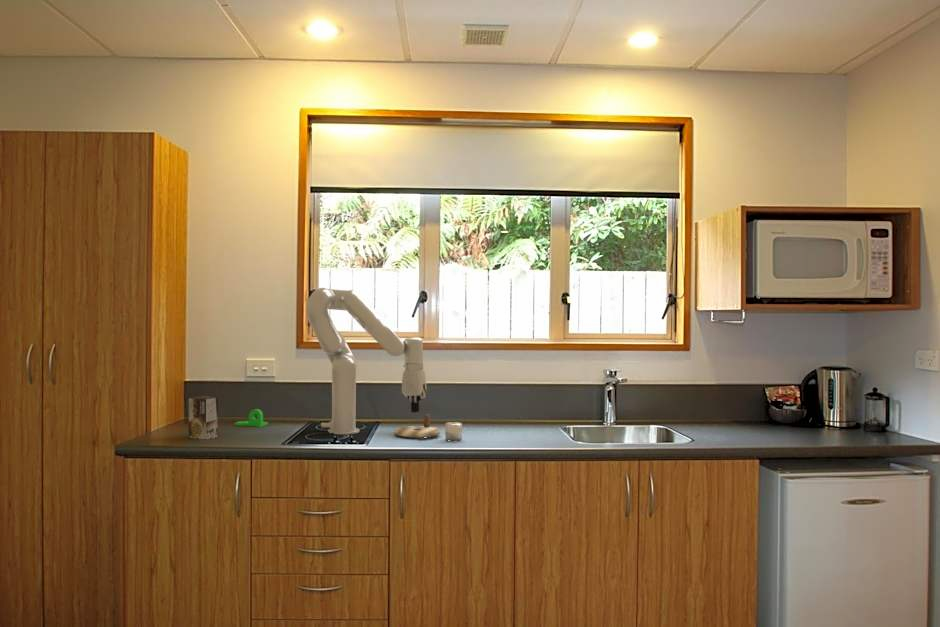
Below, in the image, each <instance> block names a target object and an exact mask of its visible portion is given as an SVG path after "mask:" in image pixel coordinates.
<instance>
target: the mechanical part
mask: <svg viewBox="0 0 940 627" xmlns="http://www.w3.org/2000/svg"><path fill="white" fill-rule="evenodd" d="M255 415H257V418H255ZM266 425H267V426H268V425H269V422H268V421H264V414H263V411H262V410H261V409H259V408H255V409H252V410H251V411H250V412H249V413H248V420H244V421H243V420H242V421H241V420H240V421H237V422H235V423H234V426H244V427H263V426H266Z"/></svg>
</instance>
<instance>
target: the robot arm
mask: <svg viewBox="0 0 940 627" xmlns="http://www.w3.org/2000/svg"><path fill="white" fill-rule="evenodd" d="M306 301H307V302H306V306H305V313H306V318H307V320H308V323H309V325H310V327H311V329H312V331H313V333H314V335H315V337H316V339H317V342H318V343H319V345H320V348H321V350H322V351H323V352H324V353H325V354H326V356H327V357H328V359H329V362H330V364H331V396H332V397H331V400H332V401H331V421H328V422H321V423H320V427H321V428H324V429H326V428H327V433H328V432H329V433H328V434H331V433H334V434H333V435H353V434H358V433H360V429H359V428H358V427H356V425H357V424H356V420H357V419H356V415H357V412H356V410H357V409H356V406H357V399H356V398H357V392H356V391H357V366H358V364H357V360H356V358H355V356H354V354H353V352H352V351H351V349H350V348H351V347H349V345H348V343H347V341H346V340H345V337H344V335H343V334H342V333H341V332H339V331H338V330H337V328H336V326H335V324H334V323H333V320H332V318H331V316H330V315H329V311H328V310H335V311H337V310H338V311H347V312H348V314H349V315H350V316H351V317H352V318H353V319H354V320H355V321H356V322H357V323H358V324H359V325H360V327H362V329H364V331H365V333H368V334H369V335H370V336H371V337H372V338H373V339H374V340H375V341H376V343H378V344H379V346H381V347H382V349H384V351H386V353H387V354H388V355H389V356H392V357H394V358H395V357H399V356H401V355H404V364H403V368H404V370H403V372H402V379H401V394H403V396H404V397H405V398H406V399H408V401H409V403H410V409H411V413H419V412H420V402H421V400H423V399H425V398H427V397H426V394H427V379H426V378H427V377H426V374H425V373H426V372H425V370H424V346H423V345H424V342H423V338H422V337H417V336H416V337H407V338H406V337H399V336H398V335H397V334H396V333H395V332H394V331H393V330H392V328H391V327H390V326H389V325H387V323H386V322H385V321H384V319H383V318H382V316H381V315H380V314H379V313H378V312H377V310H375V308H373V306H372V305H370V303H369V302H368V301H367V300H366V299H365V298H364V297H363V296H362V295H361V293H360V292H358V291H357V290H355V289H354V290H353V289H350V290H345V289H333V288H331V289H330V288H325V287H319V288H317V289H315V290H314V291H313V292H311V294H310V296H309V298H308V300H306Z"/></svg>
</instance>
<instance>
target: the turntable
mask: <svg viewBox="0 0 940 627" xmlns="http://www.w3.org/2000/svg"><path fill="white" fill-rule="evenodd" d="M394 434H395V435H396V436H400V437H404V436H405V437H404V438H409V437H429V436H432V437H435V436H439V435H440V434H441V429H440V428H439V427H435V426H431V415H430V414H428V413H426V414H424V415H423V425H411V426H410V425H409V426H408V425H407V426H401V427H395V429H394Z"/></svg>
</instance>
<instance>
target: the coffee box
mask: <svg viewBox="0 0 940 627" xmlns="http://www.w3.org/2000/svg"><path fill="white" fill-rule="evenodd" d="M218 401H219V396H218V397H217V396H206V395H205V396H204V395H203V396H202V395H201V396H200V395H199V396H194V397H188V438H189V437H190V438H189V439H196V438H199V439H198V440H204V439H207V440H211V439H210V438H212V439H216V438H215V437H217V438H218V437H219V436H218V435H219V434H218V430H219V429H218V428H219V427H218V426H219V425H218V423H219V414H218V413H219V402H218Z"/></svg>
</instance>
